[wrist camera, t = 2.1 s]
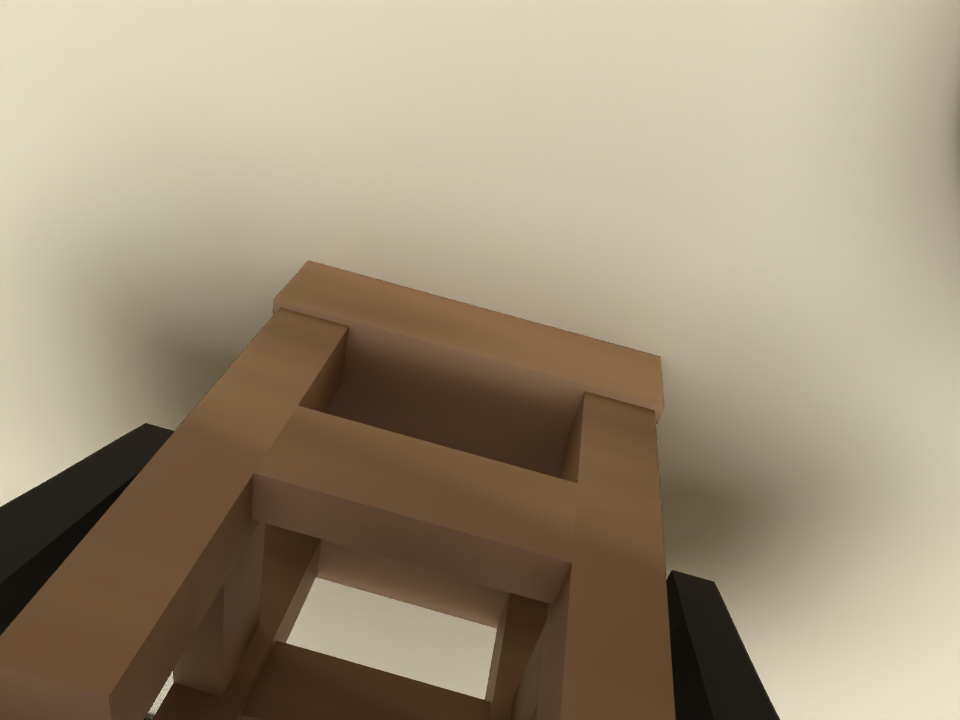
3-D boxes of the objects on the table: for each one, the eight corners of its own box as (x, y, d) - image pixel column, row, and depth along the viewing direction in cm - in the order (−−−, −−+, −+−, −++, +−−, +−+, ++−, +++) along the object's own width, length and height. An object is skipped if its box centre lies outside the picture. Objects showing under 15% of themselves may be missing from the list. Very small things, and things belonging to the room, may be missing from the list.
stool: (561, 583, 14) (518, 1063, 8) (288, 507, 14) (56, 925, 8) (659, 353, 11) (704, 862, 5) (310, 257, 11) (-34, 648, 5)
